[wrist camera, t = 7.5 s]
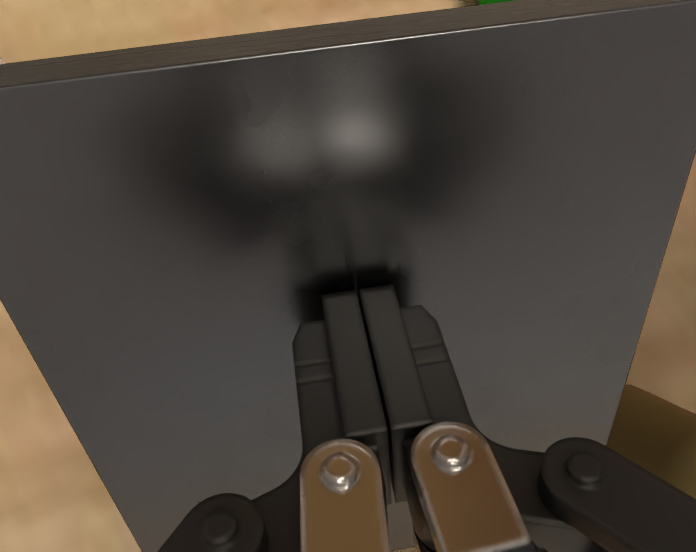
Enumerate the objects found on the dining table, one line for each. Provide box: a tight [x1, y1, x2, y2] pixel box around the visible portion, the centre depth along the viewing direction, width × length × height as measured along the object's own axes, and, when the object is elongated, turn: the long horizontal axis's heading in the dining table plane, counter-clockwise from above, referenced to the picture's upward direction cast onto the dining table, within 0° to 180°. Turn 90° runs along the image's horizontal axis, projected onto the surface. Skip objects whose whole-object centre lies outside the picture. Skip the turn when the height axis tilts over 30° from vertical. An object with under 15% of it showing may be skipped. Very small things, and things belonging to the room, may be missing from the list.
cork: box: [607, 385, 696, 499], centre depth 26 cm, size 6×6×11 cm
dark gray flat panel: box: [0, 0, 696, 552], centre depth 16 cm, size 16×13×1 cm
